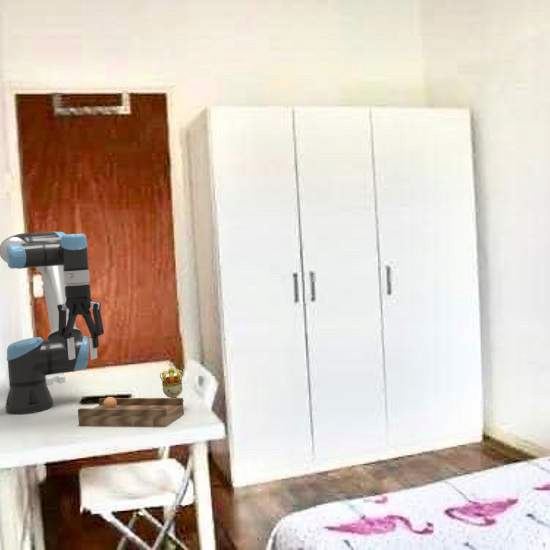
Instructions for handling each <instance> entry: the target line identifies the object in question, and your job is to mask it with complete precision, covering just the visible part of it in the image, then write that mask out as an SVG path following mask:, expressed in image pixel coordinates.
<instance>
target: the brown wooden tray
mask: <svg viewBox="0 0 550 550" xmlns="http://www.w3.org/2000/svg"><path fill="white" fill-rule="evenodd" d="M106 398H107V397H102V398H101V397H100V398H99V399H98V405H97V406H95V407H94V408H83V407H82V408H80V407H79V408H78V409H77V416H78V417H77V418H78V419H77V420H78V426H79V427H147V428H148V427H150V428H151V427H153V428H154V427H161V428H163V427H165V428H166V427H168V426H170V425H171V424H172V423H174V422H175V421H176V420H178V418H181V416H183V415H184V414H185V410H184V402H183V400H184V398H183V397H178V398H170V397H114V398H115V399H116V401H117V405H116V407H115V408H114V409H113V408H105V407H104V405H103V403H104V400H105V399H106Z"/></svg>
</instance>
